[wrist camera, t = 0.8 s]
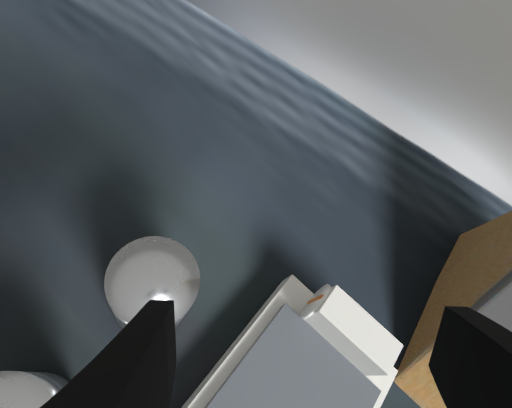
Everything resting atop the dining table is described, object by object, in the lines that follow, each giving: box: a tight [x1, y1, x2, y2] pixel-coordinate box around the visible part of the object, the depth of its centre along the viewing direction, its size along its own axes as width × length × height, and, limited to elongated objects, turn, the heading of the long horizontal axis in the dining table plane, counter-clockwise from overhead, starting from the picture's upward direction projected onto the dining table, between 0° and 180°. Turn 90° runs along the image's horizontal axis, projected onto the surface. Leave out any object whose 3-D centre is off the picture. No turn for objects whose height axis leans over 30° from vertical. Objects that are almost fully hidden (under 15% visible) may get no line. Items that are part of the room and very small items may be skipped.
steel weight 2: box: [104, 236, 200, 329], centre depth 20 cm, size 4×4×6 cm
